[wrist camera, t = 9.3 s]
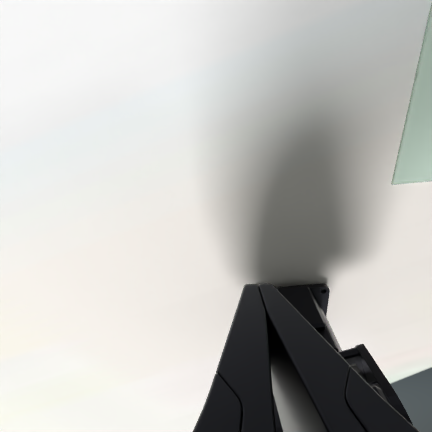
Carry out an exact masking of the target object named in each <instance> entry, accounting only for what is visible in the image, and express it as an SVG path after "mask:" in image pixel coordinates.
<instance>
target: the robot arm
mask: <svg viewBox="0 0 432 432" xmlns="http://www.w3.org/2000/svg"><path fill="white" fill-rule="evenodd" d="M323 289H324V290H323ZM328 298H329V288H328V286H327V285H326V284H314V285H303V286H291V287H279V288H275V287H274V286H273V285H272V284H270V283H265V284H259V285H257V284H246V285H245V286H244V288H243V291H242V294H241V297H240V300H239V303H238V307H237V310H236V313H235V316H234V319H233V322H232V325H231V328H230V331H229V334H228V337H227V340H226V343H225V346H224V349H223V352H222V356H221V359H220V362H219V365H218V368H217V371H216V374H215V376H214V379H213V382H212V386H211V388H210V391H209V394H208V397H207V399H206V402H205V405H204V407H203V410H202V412H201V414H200V417H199V419H198V421H197V423H196V426H195V428H194V430H193V432H419V431H418V430H417V429H416V428H415V427H414V426H413V424H412V422H411V420H410V418H409V416H408V414H407V412H406V410H405V409H404V407H403V405H402V403H401V401H400V400H399V398H398V396H397V394H396V393H395V391H394V389H393V388H392V386H391V385H390V383H389V382H388V380H387V379H386V377H385V376H384V374H383V373H382V371H381V370H380V368H379V367H378V365H377V364H376V362H375V361H374V359H373V358H372V356H371V355H370V353H369V352H368V350H367V349H366V347H365V346H364V344H360V345H357V346H356V347H355V348H351V349H348V350H344V351H342V350H341V348H340V346H339V343H338V341H337V339H336V337H335V335H334V333H333V331H332V329H331V326H330V324H329V322H328V320H327V318H326V313H327V306H328Z"/></svg>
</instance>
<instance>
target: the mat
mask: <svg viewBox="0 0 432 432" xmlns="http://www.w3.org/2000/svg"><path fill="white" fill-rule="evenodd" d="M428 181H432V4H431V8H430V13H429V17H428V22H427V26H426V31H425V35H424V40H423V44H422V49H421V53H420V58H419V62H418V67H417V71H416V76H415V80H414V85H413V89H412V94H411V98H410V103H409V107H408V112H407V116H406V121H405V125H404V129H403V134H402V138H401V143H400V147H399V152H398V156H397V161H396V165H395V170H394V174H393V179H392V183H391V184H392V185H396V184H406V183H417V182H428Z"/></svg>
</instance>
